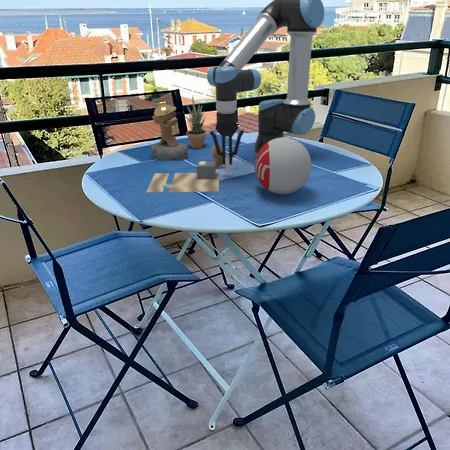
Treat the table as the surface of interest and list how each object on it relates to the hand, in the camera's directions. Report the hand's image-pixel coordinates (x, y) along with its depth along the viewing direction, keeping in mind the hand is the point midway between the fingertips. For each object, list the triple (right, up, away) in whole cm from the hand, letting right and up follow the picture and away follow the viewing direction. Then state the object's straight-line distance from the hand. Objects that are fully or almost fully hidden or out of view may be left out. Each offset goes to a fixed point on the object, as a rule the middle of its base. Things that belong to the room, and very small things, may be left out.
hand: (227, 172), depth 175 cm
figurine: (-26, +10, +29) cm, 40 cm away
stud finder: (-8, -1, +1) cm, 8 cm away
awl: (-4, +2, +11) cm, 12 cm away
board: (-16, -5, -4) cm, 17 cm away
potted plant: (-15, +17, +43) cm, 49 cm away
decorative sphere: (+20, -9, -12) cm, 24 cm away
